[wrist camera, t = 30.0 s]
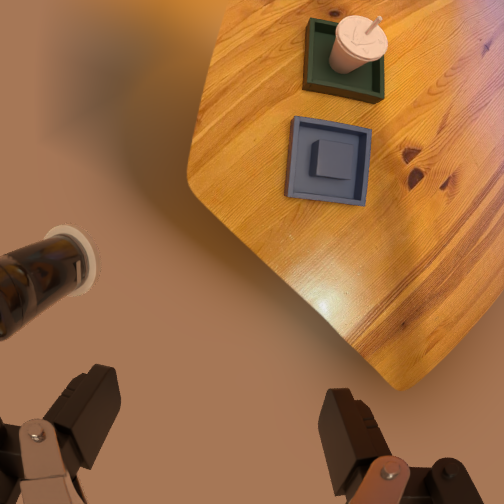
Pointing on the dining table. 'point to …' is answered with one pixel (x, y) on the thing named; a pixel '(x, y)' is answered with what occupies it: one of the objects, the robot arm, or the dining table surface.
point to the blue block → (331, 160)
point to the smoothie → (357, 43)
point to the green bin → (330, 82)
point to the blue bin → (323, 188)
